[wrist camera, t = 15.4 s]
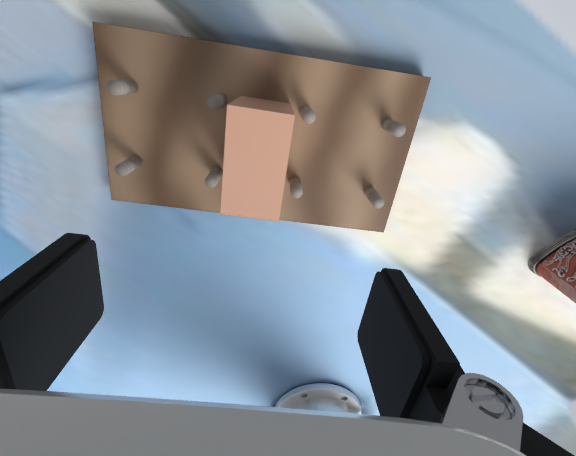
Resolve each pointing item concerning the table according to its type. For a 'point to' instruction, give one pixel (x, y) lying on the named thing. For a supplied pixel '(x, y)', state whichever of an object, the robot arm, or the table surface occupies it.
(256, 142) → the salmon pink block
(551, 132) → the table surface
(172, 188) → the rack
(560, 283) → the lighter
